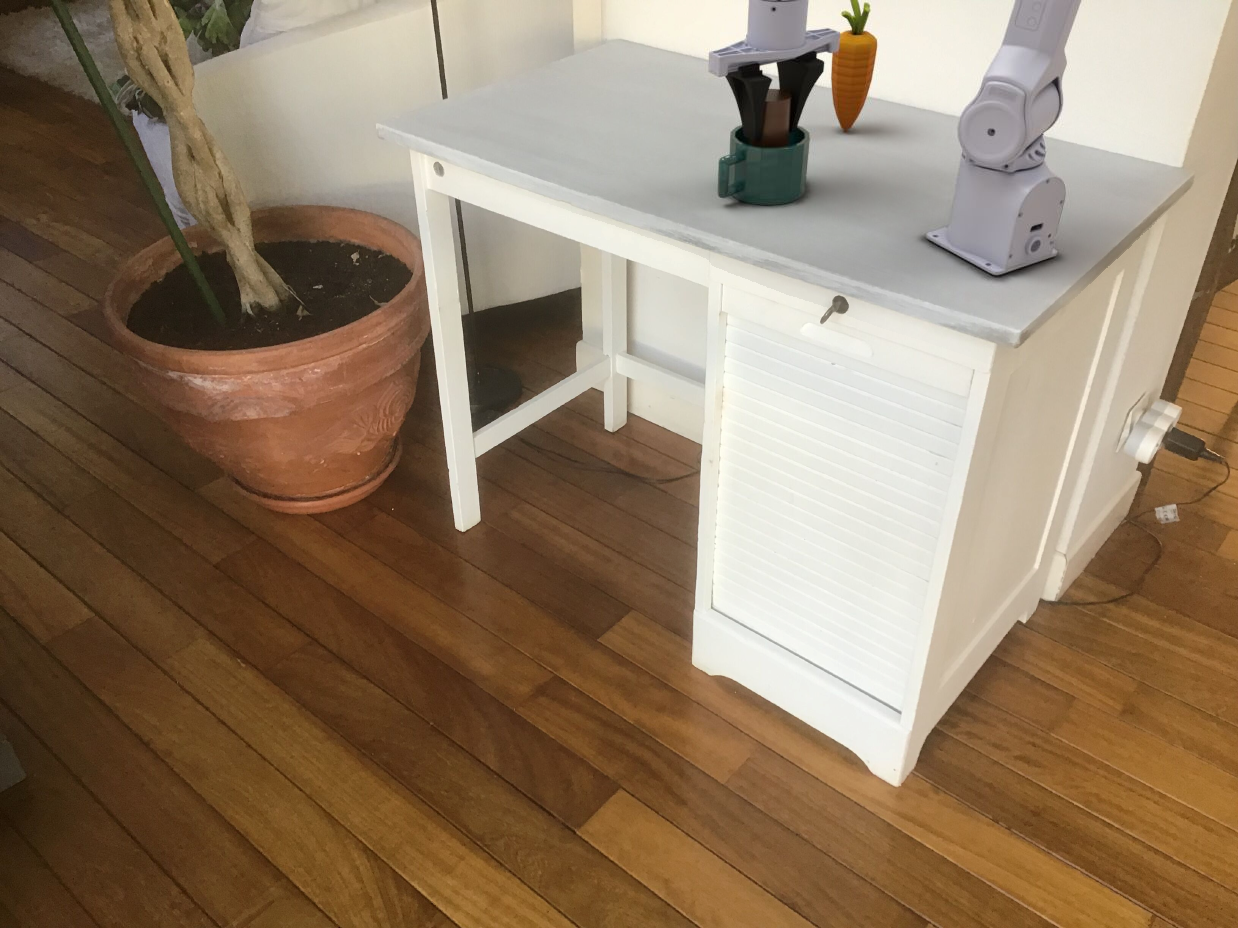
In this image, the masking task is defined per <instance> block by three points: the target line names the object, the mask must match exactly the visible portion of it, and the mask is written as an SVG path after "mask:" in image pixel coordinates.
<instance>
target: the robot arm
mask: <svg viewBox="0 0 1238 928" xmlns="http://www.w3.org/2000/svg"><path fill="white" fill-rule="evenodd" d="M1081 3H1082V0H1014V3H1013V7H1012V10H1011V13H1010V16H1009V20H1008V23H1007V26H1006V28H1005V32H1004V36H1003V39H1002V42H1001V45H1000V46H999V49H998V51H997V52H996V54H995V56H994V58H993V59H992V61H991V62H990V64H989V66H988V68H987V70H986V72H985V73H984V76H983V77H982V80H981V84H980V87H979V90H978V92H977V94H976V95H975V97H974V98H973V99H972V100H971V101H970V102H969V103H968V104H967V105H966V106H965V108H964V109H963V111H962V112H961V115H960V116H959V119H958V123H957V138H958V142H959V145H960V147H961V150H962V151H961V153H960V154H961V155H960V161H959V165H958V171H957V175H956V176H957V177H956V181H955V186H954V193H953V198H952V204H951V209H950V214H949V219H948V225H947V226H946V227H942V228H938V229H936V230H933V231H929V232H927V233H926V239H927V240H929V241H931V242H933V243H934V244H936V245H938V246H940V247H941V248H944V249H945V250H947V251H949V252H951V253H953V254H955V255H957V256H958V257H960V258H962V259H964V260H965V261H967V262H969V263H971V264H972V265H974V266H976V267H978V268H980V269H982V270H984V271H986V272H987V273H989V274H991V275H993V276H1000V275H1003V274H1006V273H1009V272H1013V271H1015V270H1017V269H1021V268H1024V267H1027V266H1029V265H1033V264H1036V263H1039V262H1042V261H1045V260H1047V259H1051V258H1053V257H1056V256H1057V254H1058V250H1057V249H1056V248H1054V246H1055V245H1054V244H1055V240H1056V237H1057V233H1058V230H1059V225H1060V221H1061V217H1062V213H1063V210H1064V205H1065V203H1066V195H1067V188H1066V184H1065V182H1064V181H1063V179H1062V178H1061V177H1059V176H1058V175H1056V174H1055V173H1054V172H1052V170H1051V169H1050V168H1049V166H1048V165H1047V163H1046V160H1045V159H1046V156H1047V151H1046V144H1045V139H1044V133H1045V132H1047V131H1048V130H1050V129H1051V128H1052V127H1053V126H1054V125H1055V124H1056V123H1057V121H1058V120H1059V118H1060V117H1061V115H1062V111H1063V107H1064V93H1063V78H1064V73H1065V70H1066V68H1067V65H1068V61H1067V56H1066V52H1065V49H1066V45H1067V43H1068V40H1069V37H1070V34H1071V31H1072V29H1073V26H1074V23H1075V20H1076V17H1077V14H1078V12H1079V10H1080V9H1079V8H1080V6H1081ZM808 11H809V0H748V9H747V12H748V13H747V28H746V29H747V30H746V33H747V34H746V35H745V38H744V39H742V40H740V41H737V42H735V43H733V44H730V45H728V46H725V47H723V48H720V49H716V50H712V51H709V52H708V69H707V70H708V71H707V72H708V73H710V74H712V75H714V76H716V77H718V78H722V77H725V79H726V81H727V82H728V85H729V87H730V90H731V91H732V93H733V96H734V99H735V102H736V105H737V109H738V112H739V117H740V121H741V125H742V127H743V133H744V136H745V137H747V138H749V139H750V140H752V141H759V140H760V138H761V134H762V126H763V113H764V106H765V101H766V97H767V93H768V90H769V89H770V87H771V84H772V82H773V78H771V77H770V76H768V75H766V74H763V72H764V70H763V69H761V67H762V66H766V65H771V64H776V69H777V76H778V84H779V85H778V86H779V87H778V89H780V90H784V91H787V92H789V93H790V94H791V95H792V98H791V111H790V124H789V132H791V133H792V132H795V131H796V129H797V125H798V126H799V122H800V120H801V116H802V113H803V111H804V108H805V105H806V102H807V101H808V98H809V96H810V93H811V92H812V90H813V88H814V87H815V85H816V84H817V82H818V80H819V79H820V77H821V76H822V74H823V73H824V71H825V61H824V60H822V59H820V58H818V54H823V53H828V54H832V53H834V52H838V50H839V40H840V34H841V32H840V31H838V30H835V29H832V28H830V27H824V28H820V29H818V28H817V29H808V30H807V26H808V25H807V24H808Z"/></svg>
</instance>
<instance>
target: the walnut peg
mask: <svg viewBox="0 0 1238 928" xmlns="http://www.w3.org/2000/svg"><path fill="white" fill-rule="evenodd" d="M791 98H792V95H791V94H790V93H789V92H787V91H784V90H780V89H779V88H769V90H768V93H767V97H766V101H765V106H764V113H763V126H762V134H761V138H760V140H759V141H752V140H750V146H755V147H761V148H781V147H788V138H789V124H790V111H791Z"/></svg>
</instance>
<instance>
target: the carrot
mask: <svg viewBox="0 0 1238 928" xmlns="http://www.w3.org/2000/svg"><path fill="white" fill-rule="evenodd" d="M849 1H850V4H851V9H852V12H853V15H852V13H851V12H849V11H847V10H844V11H841V13H840V15H841V16H842V17H843V18H845V19H846V20H847V22H848V24H849V26H850V27H851V29H847V30H845V31H843V32H840V40H839V50H838V52H834V53H831V54H832V55H831V73H830V81H831V83H830V84H831V94H832V95H831V97H832V104H833V108H834V113H835V116H836V118H837V120H838V123H839V126H840V128H841V129H842V130H843V131H844V132H848V131H849V130H850V129H851V128H852V127H853V126H854V124H855V122H856V121H857V120H858V117H859V116H860V114H861V112H862V110H863V108H864V106H865V103H866V100H867V97H868V95H869V90H870V87H871V84H872V80H873V77H874V76H873V75H874V70H875V64H876V58H877V57H876V56H877V50H878V39H877V37H875V35H874V34H872V33H871V32H869V31H867V30H864V29H865V26H866V24H867V21H868V19H869V14H870V12H871V5H870V4H869V2H864V3H863V8H862V12H861V7H860V2H859V0H849Z"/></svg>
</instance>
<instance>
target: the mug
mask: <svg viewBox="0 0 1238 928" xmlns="http://www.w3.org/2000/svg"><path fill="white" fill-rule="evenodd" d="M810 139H811V135H810V131H808V130H807V129H805V128H804V127H803V126H800V125H799V124H798V125H797V129H796V131H795V132H792V133H791V132H789V138H788V147H781V148H761V147H755V146H750V139H749V138H747V137H745V136H744V133H743V127H742V124H741V125H737V126H735V127H734V128H733V129H732V130H731V131H730V137H729V154H727V155H724V156H722V157H720V158H719V159H718V170H717V196H718V198H720V199H726V198H728V197H731V196H732V197H733V198H735V199H736V200H738V201H741V202H744V203H748V204H752V205H760V206H778V205H785V204H789V203H793V202H794V201H796V200H799V199H800V198H801V197H802V196H803V195H804V194H805V191H806V185H807V174H808V163H809V152H810V150H809V149H810V143H811V142H810Z"/></svg>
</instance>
